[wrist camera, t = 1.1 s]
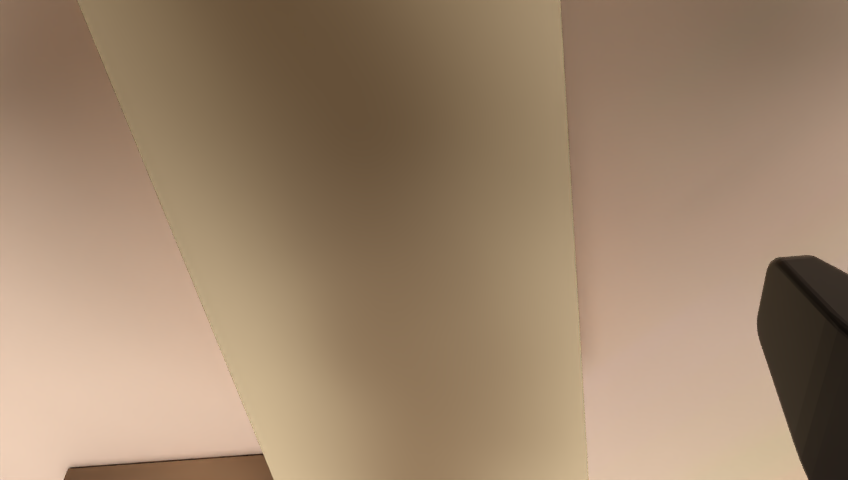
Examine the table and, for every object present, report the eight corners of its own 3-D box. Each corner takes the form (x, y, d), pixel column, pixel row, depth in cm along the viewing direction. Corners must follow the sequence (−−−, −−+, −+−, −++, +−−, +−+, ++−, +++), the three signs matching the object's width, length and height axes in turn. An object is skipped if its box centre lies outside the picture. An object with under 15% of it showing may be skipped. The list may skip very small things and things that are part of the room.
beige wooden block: (480, -567, 10) (519, -701, 7) (557, 357, 19) (590, 496, 16) (27, -470, 10) (-150, -549, 7) (313, 388, 19) (294, 530, 16)
